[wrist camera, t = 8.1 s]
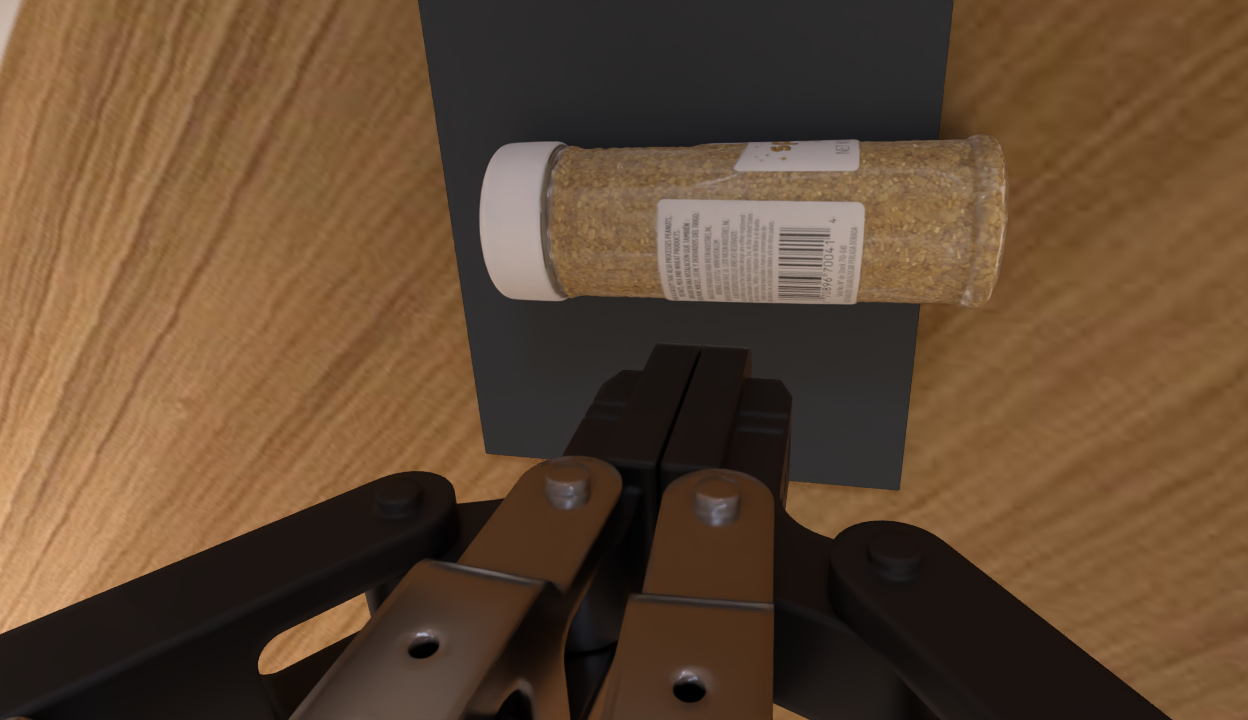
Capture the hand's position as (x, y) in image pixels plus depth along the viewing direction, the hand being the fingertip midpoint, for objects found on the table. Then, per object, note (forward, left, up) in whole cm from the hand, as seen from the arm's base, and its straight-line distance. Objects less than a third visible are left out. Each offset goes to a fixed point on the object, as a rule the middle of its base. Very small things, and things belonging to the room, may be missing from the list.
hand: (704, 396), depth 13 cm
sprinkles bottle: (0, +6, -11) cm, 12 cm away
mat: (0, -3, -13) cm, 13 cm away
